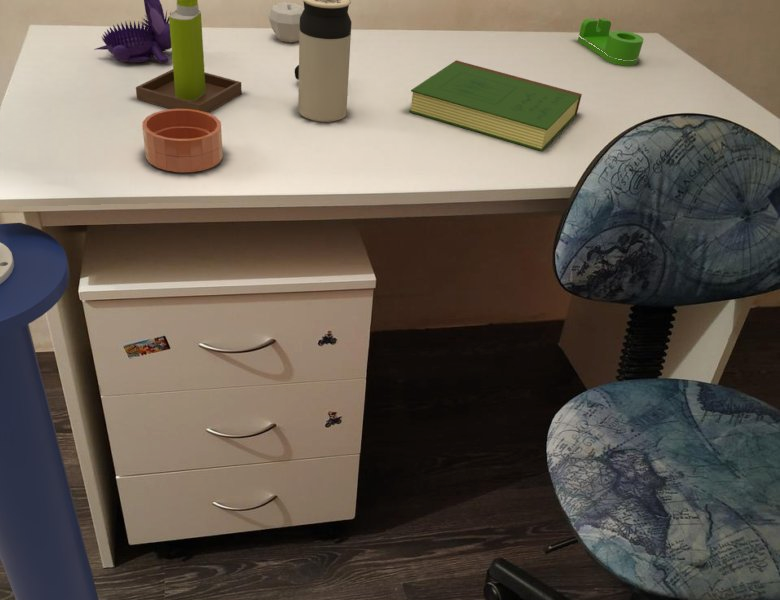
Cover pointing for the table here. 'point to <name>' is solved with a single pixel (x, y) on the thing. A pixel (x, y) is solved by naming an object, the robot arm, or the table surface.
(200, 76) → the vape
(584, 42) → the green stand
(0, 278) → the robot arm
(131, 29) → the creature
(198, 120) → the bowl
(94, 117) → the table surface
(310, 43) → the travel mug
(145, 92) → the tray
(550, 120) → the hardcover book
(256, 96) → the table surface
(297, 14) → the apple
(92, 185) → the table surface
